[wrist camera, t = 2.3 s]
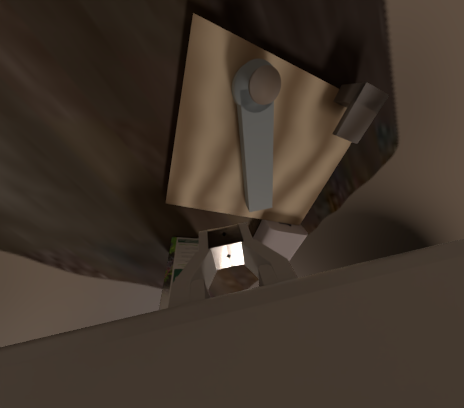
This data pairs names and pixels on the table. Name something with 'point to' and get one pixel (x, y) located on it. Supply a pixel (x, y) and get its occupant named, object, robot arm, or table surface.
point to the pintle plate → (284, 135)
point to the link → (254, 139)
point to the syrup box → (177, 263)
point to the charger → (280, 237)
